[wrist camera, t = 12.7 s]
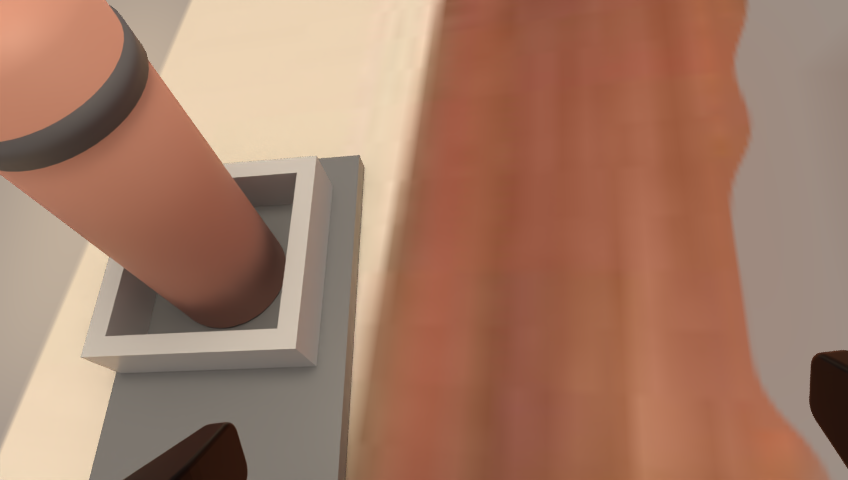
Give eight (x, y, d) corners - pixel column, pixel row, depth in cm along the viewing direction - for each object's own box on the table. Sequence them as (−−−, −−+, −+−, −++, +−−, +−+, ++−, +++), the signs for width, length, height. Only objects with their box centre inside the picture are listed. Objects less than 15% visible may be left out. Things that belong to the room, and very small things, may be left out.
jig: (338, 587, 20) (306, 597, 17) (80, 583, 21) (7, 592, 18) (364, 167, 28) (345, 122, 25) (177, 181, 29) (138, 141, 26)
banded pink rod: (278, 329, 24) (43, 94, 11) (162, 330, 24) (-178, 108, 12) (296, 222, 26) (118, -64, 14) (190, 226, 27) (-68, -46, 15)
